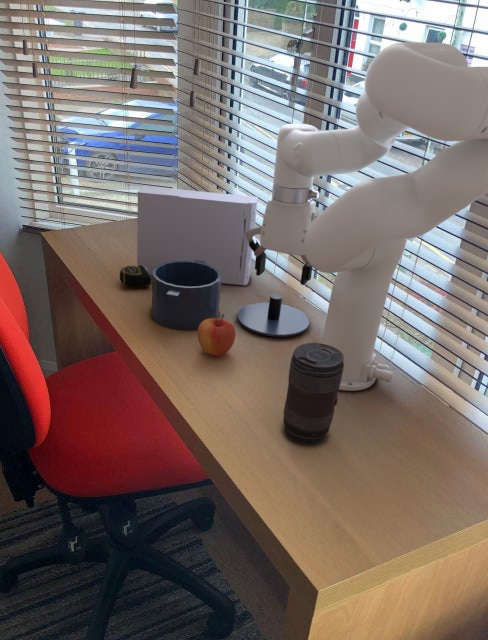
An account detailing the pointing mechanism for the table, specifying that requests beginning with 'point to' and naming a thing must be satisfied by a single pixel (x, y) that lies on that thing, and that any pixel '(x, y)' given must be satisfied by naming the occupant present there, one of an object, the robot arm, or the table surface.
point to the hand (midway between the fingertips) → (282, 278)
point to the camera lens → (312, 392)
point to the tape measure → (134, 276)
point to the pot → (185, 293)
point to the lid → (273, 318)
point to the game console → (196, 230)
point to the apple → (216, 336)
